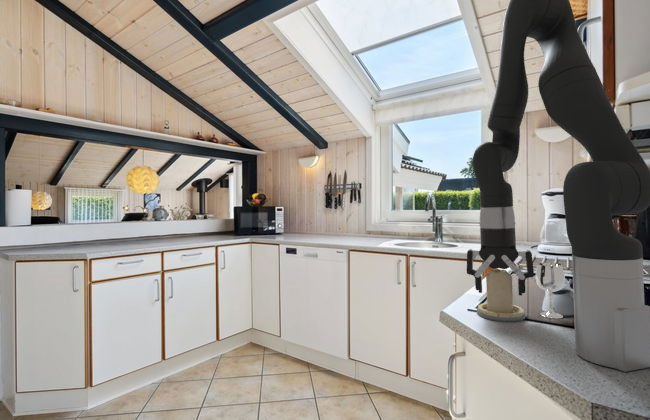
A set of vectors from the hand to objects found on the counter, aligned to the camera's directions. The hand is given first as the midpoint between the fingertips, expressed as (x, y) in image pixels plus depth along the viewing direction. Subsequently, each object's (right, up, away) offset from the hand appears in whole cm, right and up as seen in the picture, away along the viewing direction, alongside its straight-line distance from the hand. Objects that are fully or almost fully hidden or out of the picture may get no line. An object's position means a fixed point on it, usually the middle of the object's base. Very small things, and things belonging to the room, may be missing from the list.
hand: (499, 293), depth 82 cm
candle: (0, -5, 0) cm, 5 cm away
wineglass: (+11, -5, -2) cm, 12 cm away
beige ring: (0, -5, 0) cm, 5 cm away
